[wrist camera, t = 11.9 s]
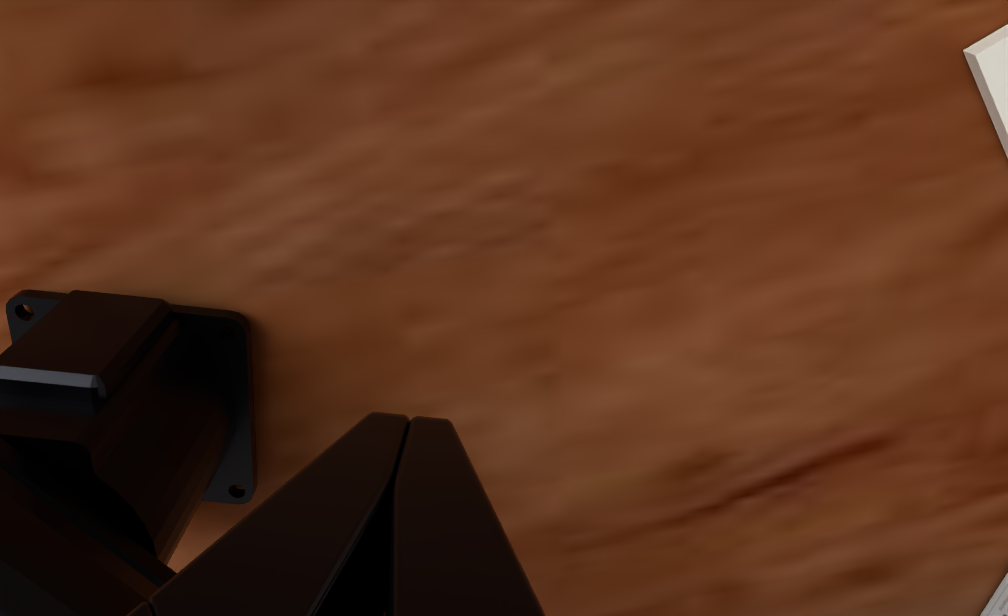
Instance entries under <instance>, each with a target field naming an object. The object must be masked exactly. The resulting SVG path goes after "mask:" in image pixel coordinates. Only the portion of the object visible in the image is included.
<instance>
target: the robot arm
mask: <svg viewBox="0 0 1008 616" xmlns="http://www.w3.org/2000/svg"><path fill="white" fill-rule="evenodd" d="M23 304H24V305H27V306H29V307H30V308H31V309H32V310H33V312H34V314H32V313H29V312H28V311H26V310H25V308H24V306H23ZM6 314H7V319H8V324H9V329H10V334H11V339H12V345H11V346H10V347H9V348H7V349H6V350H5V351H4V352H3V353H2V354H1V355H0V616H546V615H545V613H544V611H543V609H542V607H541V605H540V603H539V601H538V599H537V597H536V595H535V593H534V591H533V589H532V587H531V585H530V583H529V580H528V578H527V576H526V574H525V572H524V570H523V568H522V566H521V564H520V562H519V560H518V558H517V556H516V554H515V552H514V550H513V548H512V546H511V543H510V541H509V539H508V537H507V535H506V533H505V531H504V529H503V527H502V525H501V523H500V521H499V519H498V517H497V515H496V513H495V511H494V508H493V506H492V504H491V502H490V500H489V498H488V496H487V494H486V492H485V490H484V488H483V486H482V484H481V482H480V480H479V478H478V476H477V473H476V471H475V469H474V467H473V465H472V463H471V461H470V459H469V457H468V455H467V453H466V451H465V449H464V447H463V445H462V443H461V441H460V439H459V436H458V434H457V432H456V430H455V428H454V426H453V424H452V423H451V422H450V421H449V420H448V419H441V418H431V417H421V416H416V417H414V418H412V420H411V421H410V420H409V418H408V417H407V416H406V415H401V414H392V413H382V412H372V413H370V414H368V415H367V416H365V417H364V418H363V419H362V420H361V421H359V422H358V423H357V424H356V425H355V426H353V427H352V428H351V429H350V430H349V431H347V432H346V433H345V434H344V435H343V436H341V437H340V438H339V439H338V440H337V441H335V442H334V443H333V444H332V445H331V446H329V447H328V448H327V449H326V450H325V451H323V452H322V453H321V454H320V455H319V456H317V457H316V458H315V459H314V460H313V461H311V462H310V463H309V464H308V465H307V466H306V467H304V468H303V469H302V470H301V471H300V472H298V473H297V474H296V475H295V476H294V477H292V478H291V479H290V480H289V481H288V482H286V483H285V484H284V485H283V486H282V487H280V488H279V489H278V490H277V491H276V492H274V493H273V494H272V495H271V496H270V497H268V498H267V499H266V500H265V501H264V502H262V503H261V504H260V505H259V506H258V507H256V508H255V509H254V510H253V511H252V512H250V513H249V514H248V515H247V516H246V517H244V518H243V519H242V520H241V521H240V522H238V523H237V524H236V525H235V526H234V527H232V528H231V529H230V530H229V531H228V532H226V533H225V534H224V535H223V536H222V537H220V538H219V539H218V540H217V541H216V542H214V543H213V544H212V545H211V546H210V547H208V548H207V549H206V550H205V551H204V552H202V553H201V554H200V555H199V556H198V557H196V558H195V559H194V560H193V561H192V562H190V563H189V564H188V565H187V566H186V567H184V568H183V569H182V570H181V571H180V572H178V573H176V572H174V571H173V570H172V569H171V568H169V567H168V566H167V564H168V562H169V560H170V558H171V557H172V555H173V553H174V551H175V549H176V547H177V545H178V543H179V542H180V540H181V538H182V536H183V534H184V532H185V530H186V528H187V527H188V525H189V523H190V521H191V519H192V517H193V515H194V513H195V512H196V510H197V508H198V506H199V504H200V502H201V501H211V502H221V503H231V504H244V503H247V502H249V501H250V500H251V499H252V497H253V495H254V493H255V491H256V488H257V469H256V446H255V422H254V399H253V376H252V352H251V329H250V325H249V322H248V321H247V319H246V318H245V317H244V316H243V315H241V314H240V313H238V312H234V311H229V310H219V309H210V308H200V307H191V306H181V305H171V304H170V303H168V302H166V301H164V300H163V299H156V298H147V297H137V296H128V295H118V294H109V293H99V292H90V291H80V290H74V291H72V292H70V293H69V294H66V293H57V292H47V291H37V290H22V291H20V292H18V293H17V294H16V295H14V296H13V297H12V298H11V299H9V301H8V302H7V304H6ZM226 325H228V326H231V327H233V328H234V329H235V330H236V333H237V334H236V335H232V334H229V333H227V332H226V331H225V330H224V327H223V326H226ZM234 485H239V486H241V487H243V488H244V489H238V488H236V487H235V486H234Z"/></svg>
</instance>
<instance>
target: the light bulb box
mask: <svg viewBox="0 0 1008 616" xmlns="http://www.w3.org/2000/svg"><path fill="white" fill-rule="evenodd" d="M980 616H1008V573H1007V574H1006V576H1005V577H1004V579H1003V580H1002V582H1001V584H1000V585H999V587H998V588H997V590H996V591H995V593H994V595H993V596H992V598H991V599H990V601H989V602H988V604H987V605H986V607H985V609H984V610H983V612H982V613H981V615H980Z"/></svg>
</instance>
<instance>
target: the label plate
mask: <svg viewBox="0 0 1008 616" xmlns="http://www.w3.org/2000/svg"><path fill="white" fill-rule="evenodd" d="M963 52H964V55H965V57H966V59H967V62H968V64H969V67H970V69H971V71H972V74H973V76H974V79H975V81H976V83H977V86H978V88H979V91H980V93H981V95H982V98H983V100H984V103H985V105H986V107H987V110H988V112H989V115H990V117H991V119H992V122H993V124H994V127H995V129H996V131H997V134H998V136H999V139H1000V141H1001V143H1002V146H1003V148H1004V151H1005V153H1006V155H1007V158H1008V24H1007V25H1006V26H1004V27H1002V28H1000V29H999V30H997V31H995V32H994V33H992V34H990V35H988V36H987V37H985V38H983V39H982V40H980V41H978V42H976V43H975V44H973V45H971V46H970V47H968V48H966V49H964V50H963Z"/></svg>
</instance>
